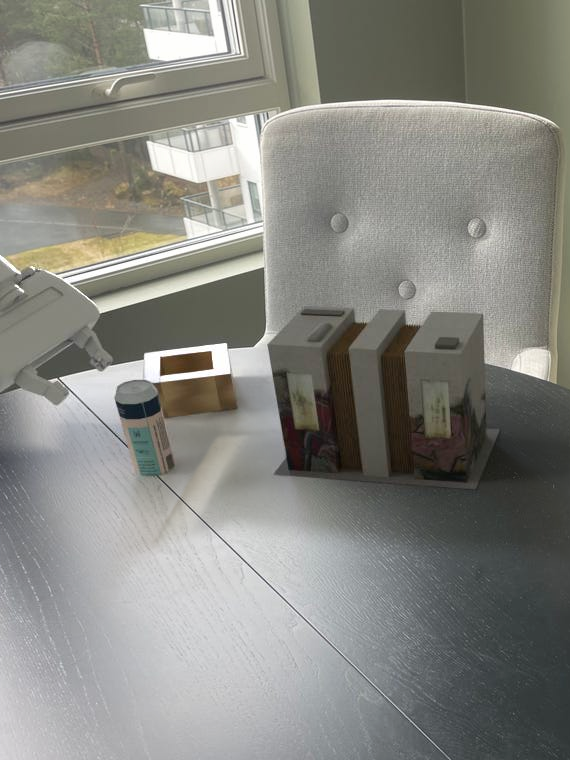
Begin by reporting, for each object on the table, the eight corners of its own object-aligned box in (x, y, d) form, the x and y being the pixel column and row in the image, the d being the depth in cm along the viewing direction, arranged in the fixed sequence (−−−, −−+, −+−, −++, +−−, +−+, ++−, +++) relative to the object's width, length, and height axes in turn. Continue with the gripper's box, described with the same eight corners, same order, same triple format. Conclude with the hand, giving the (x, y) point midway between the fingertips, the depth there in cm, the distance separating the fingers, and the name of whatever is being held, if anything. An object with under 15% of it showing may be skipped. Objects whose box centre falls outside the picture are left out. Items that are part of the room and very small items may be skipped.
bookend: (475, 489, 113) (470, 354, 103) (272, 474, 117) (249, 343, 107) (500, 429, 125) (497, 303, 115) (315, 417, 129) (298, 295, 119)
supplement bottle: (172, 467, 119) (149, 374, 112) (184, 483, 116) (161, 388, 108) (133, 478, 117) (107, 384, 110) (144, 494, 114) (118, 398, 107)
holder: (151, 419, 130) (142, 384, 127) (152, 386, 139) (144, 352, 136) (237, 408, 132) (230, 373, 129) (233, 376, 141) (226, 343, 138)
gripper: (25, 281, 116) (120, 364, 120) (-90, 345, 100) (24, 438, 104) (46, 243, 112) (143, 330, 116) (-70, 303, 97) (48, 401, 101)
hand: (86, 382), depth 110 cm, fingers open, 8 cm apart
